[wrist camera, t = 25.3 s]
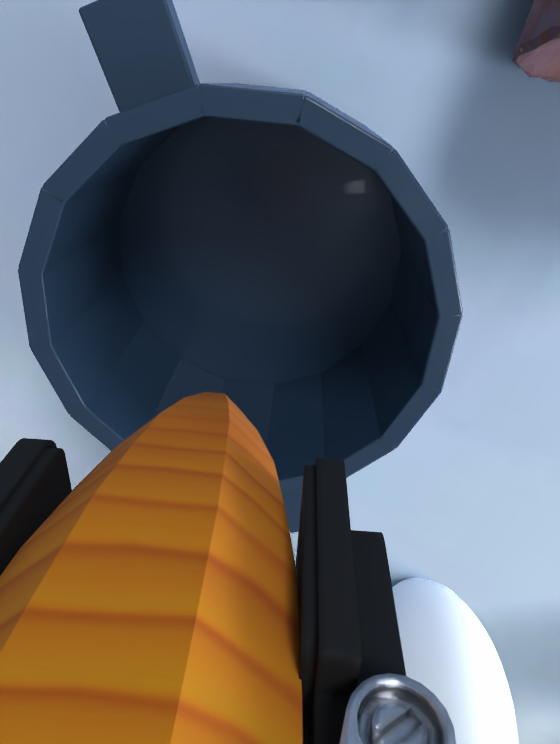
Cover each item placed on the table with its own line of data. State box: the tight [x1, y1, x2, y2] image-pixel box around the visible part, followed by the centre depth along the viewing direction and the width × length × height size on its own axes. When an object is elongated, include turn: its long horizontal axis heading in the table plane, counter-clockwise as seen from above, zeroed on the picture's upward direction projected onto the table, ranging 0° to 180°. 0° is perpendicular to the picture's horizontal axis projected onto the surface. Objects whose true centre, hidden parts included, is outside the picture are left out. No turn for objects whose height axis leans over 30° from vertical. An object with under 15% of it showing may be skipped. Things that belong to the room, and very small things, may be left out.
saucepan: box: [18, 0, 463, 533], centre depth 22 cm, size 15×20×8 cm
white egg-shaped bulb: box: [392, 578, 519, 744], centre depth 28 cm, size 8×8×18 cm
